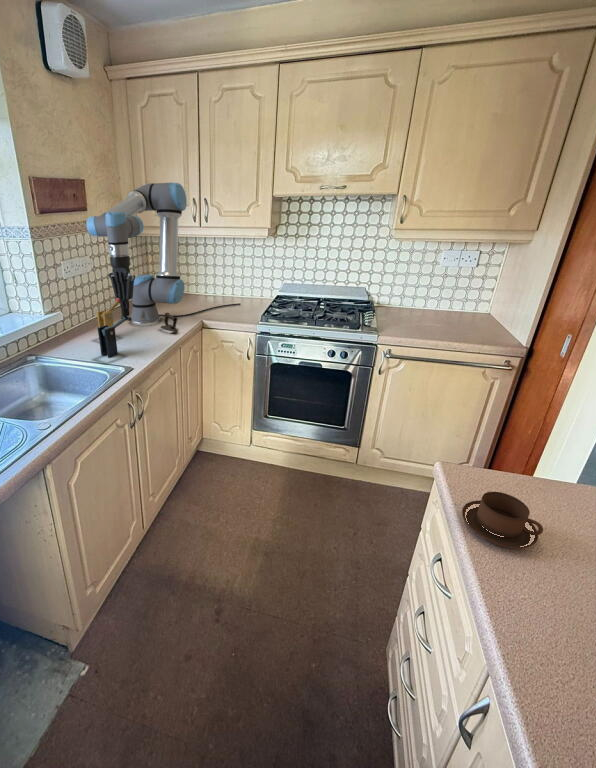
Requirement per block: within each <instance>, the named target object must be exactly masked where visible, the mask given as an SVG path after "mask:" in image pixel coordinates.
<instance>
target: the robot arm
mask: <svg viewBox="0 0 596 768" xmlns="http://www.w3.org/2000/svg"><path fill="white" fill-rule="evenodd" d="M187 201H188V200H187V195H186V190H185V188H184V186H183V185H182V184H180V183H179V182H156V183H155V182H154V183H153V182H152V183H146V184H142V185H141V186H139V187H137V188H135V189H134V190H132V191H130V192H129V193H128V194H127V197H125V198H124V199H122V200H121V201H120V202H119V203H117V204H115V205H114V206H112V207H111V208H109V209H108V210H107V211H105V212H103V213H101V214H100V215H92V216H89V217H88V218H87V219H86V224H85V225H86V229H87V232H88V234H89V235H90V236H91V237H98V238H99V237H107V245H108V252H109V256H110V257H109V263H110V267H111V268H112V271H111V272H110V273H109V272H108V277H109V278H110V281H111V285H112V290H113V293H114V297H115V299H117V298H118V299H119V300H120V303H119V306H120V310H121V316H122V317H130V318H132V320H131V321H130V322H131V323H134V324H140V325H141V324H143V325H144V324H153V323H156V322H159V321H161V317H163V318H165V314H159V311H158V309H157V308H158V307H157V305H156V303H158V304H168V305H170V304H172V305H173V304H175V305H176V304H179V303H180V302H181V301H182V299H183V298H184V294H185V282H184V280H183V279H181V274H179V272H178V254H179V253H178V249H179V219H180V218H181V217H182V214H183V213H182V212H184V211H185V210H186V209H187V204H188V202H187ZM146 211H147V212H148V211H149V212H150V211H153V212H156V215H157V216H158V217H159V258H158V259H159V260H158V261H159V262H158V263H159V264H158V265H159V266H158V268H159V270H158V271H157V273H156V274H155V275H154V274H141V275H137V276H136V275H134V274H132V273H131V270H130V266H131V257H130V246H129V238H135V237H137V236H140V235H141V234H142V233H143V232H144V228H145V227H144V222H143V219H141V218H140V217H139V216H136V215H137V214H142V213H143V212H146ZM130 300H131V303H132V305H131V306H132V309H131V315H130ZM231 306H241V303H230V304H223V305H216V306H212V307H208V308H204V309H201V310H199V311H195V312H190V313H186V314H178V315H172V316H173V317H176V318H180V317H188V316H193V315H196V314H199V313H202V312H206V311H210V310H214V309H218V308H225V307H231Z"/></svg>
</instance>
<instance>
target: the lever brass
mask: <svg viewBox="0 0 596 768" xmlns="http://www.w3.org/2000/svg"><path fill="white" fill-rule="evenodd" d="M113 303H114V304H112V305H111V307H109V309H107V310H106V312H110V311H112V312H113V310H114V309H115V308H116V307H117V306H118V305H120V300H119V299H118V298H116V301H115V302H113ZM106 312H105V311H104V312H103V313H106ZM103 313H102V314H101V315H100V316H101V318H102V319H103ZM103 320H104V319H103Z"/></svg>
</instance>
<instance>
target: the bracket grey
mask: <svg viewBox="0 0 596 768" xmlns="http://www.w3.org/2000/svg"><path fill="white" fill-rule="evenodd" d="M106 327H108V325H105V326H102V327H99V326H98V327H97V333H98V341H99V342H98V343H99V349H100V356H102V357H103V356H106V355H107V358H109V359H110V358H111V359H112V358H113V357H116V356H118V355H119V353H118V351H119V350H118V343H117V334H116V328H115V327H110V328H107V329H104V328H106ZM103 329H104V331H105V336H103V334H102V331H101V330H103Z"/></svg>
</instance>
